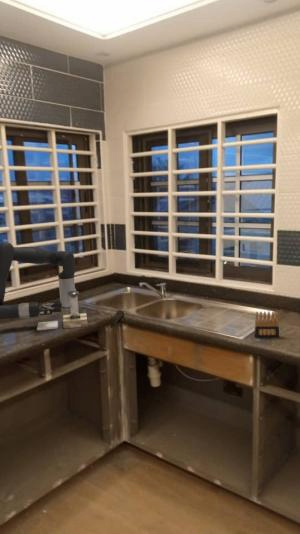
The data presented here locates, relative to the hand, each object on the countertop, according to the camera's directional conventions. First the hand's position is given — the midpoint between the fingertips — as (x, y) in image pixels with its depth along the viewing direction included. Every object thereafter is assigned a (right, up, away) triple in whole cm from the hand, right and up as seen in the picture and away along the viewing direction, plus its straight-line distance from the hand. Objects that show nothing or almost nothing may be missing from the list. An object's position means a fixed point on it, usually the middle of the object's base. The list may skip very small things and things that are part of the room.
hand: (61, 307), depth 211 cm
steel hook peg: (+7, -9, +3) cm, 11 cm away
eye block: (+7, -9, +3) cm, 11 cm away
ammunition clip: (+98, -11, -26) cm, 102 cm away
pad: (-7, -10, 0) cm, 12 cm away
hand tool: (+28, -8, +3) cm, 30 cm away
